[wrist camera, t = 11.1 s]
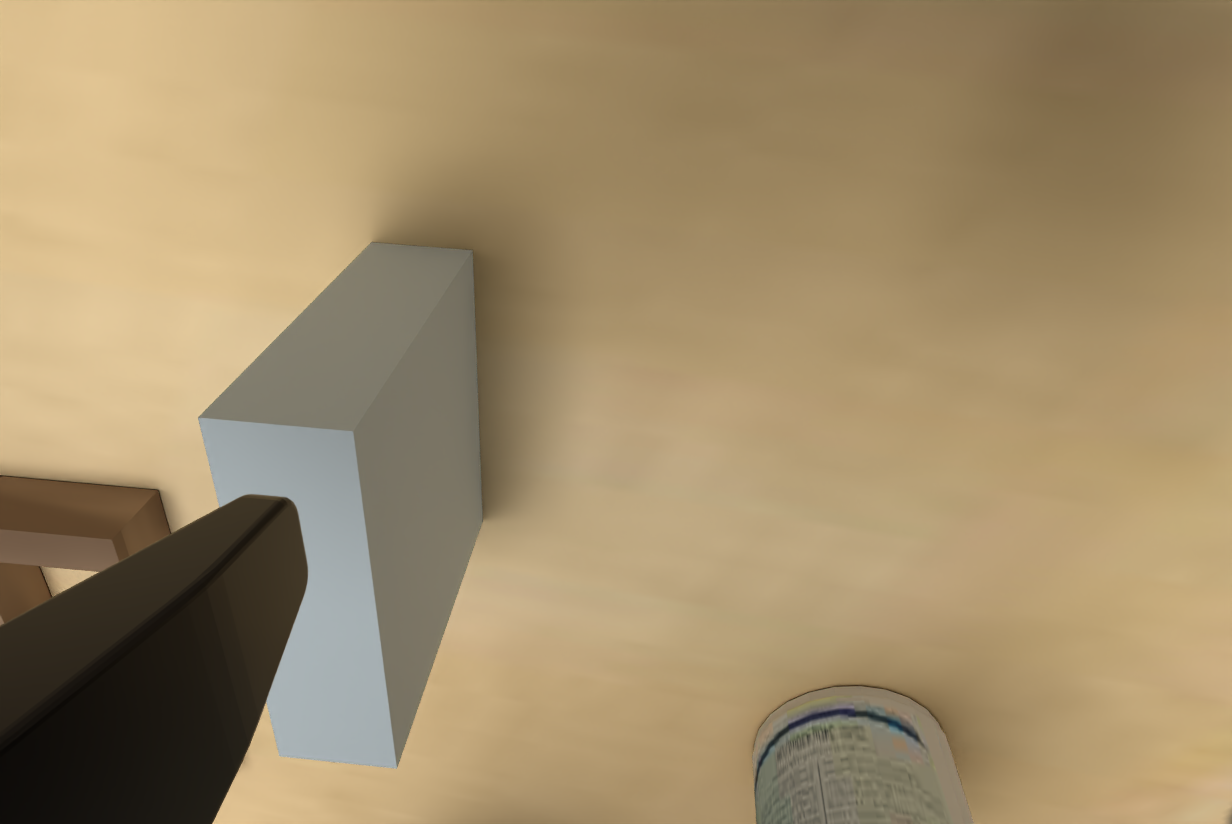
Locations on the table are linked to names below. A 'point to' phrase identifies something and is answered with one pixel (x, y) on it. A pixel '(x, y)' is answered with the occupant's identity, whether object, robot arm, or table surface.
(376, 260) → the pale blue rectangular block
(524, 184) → the table surface
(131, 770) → the robot arm
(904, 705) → the spray can
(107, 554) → the rack
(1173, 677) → the table surface
